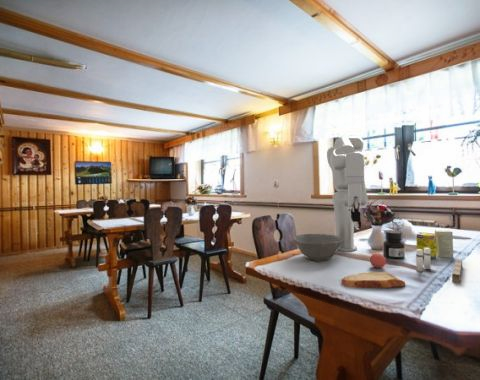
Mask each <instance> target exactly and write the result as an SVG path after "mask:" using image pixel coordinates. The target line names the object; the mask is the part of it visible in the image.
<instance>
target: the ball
mask: <svg viewBox="0 0 480 380" xmlns="http://www.w3.org/2000/svg"><path fill="white" fill-rule="evenodd" d="M386 259H387V258H386V257H385V256H384V255H383V254H382V253H377V252H376V253H373V254H371V256H370V257H369V261H370V264H371V265H372V266H373V267H374V268H377V269H381V268H384V267H385V266H386V264H387V260H386Z"/></svg>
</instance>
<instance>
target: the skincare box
mask: <svg viewBox="0 0 480 380" xmlns="http://www.w3.org/2000/svg"><path fill="white" fill-rule="evenodd" d="M434 235H436V258H449V259H450V258H451V259H452V258H453V259H454V241H453V236H454V235H453V231H451V230H445V229H444V230H443V229H442V230H439V229H436V230H434Z"/></svg>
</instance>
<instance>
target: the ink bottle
mask: <svg viewBox="0 0 480 380" xmlns="http://www.w3.org/2000/svg"><path fill="white" fill-rule="evenodd" d="M402 233H403V232H402V231H400V230H399V231H397V230H386V231H385V241H383V242H382V250H383V252H382V253H383V254H382V255H383V256H384V257H385V258H386V259H387V258H388V259H392V258H394V260H402V259H405V254H406V253H405V249H406V247H405V243H404V242H403V241H402V240H403V234H402Z"/></svg>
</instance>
